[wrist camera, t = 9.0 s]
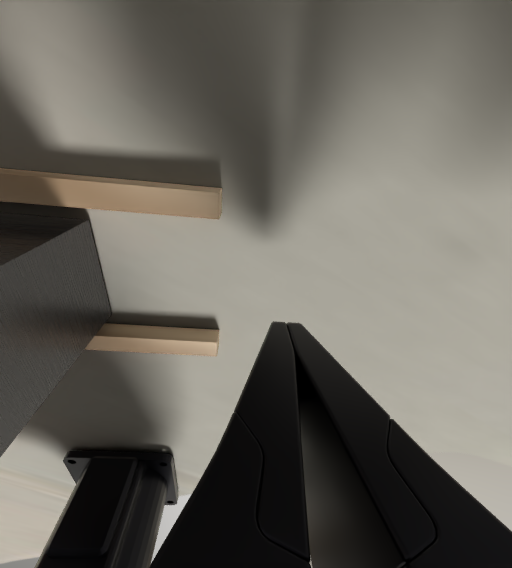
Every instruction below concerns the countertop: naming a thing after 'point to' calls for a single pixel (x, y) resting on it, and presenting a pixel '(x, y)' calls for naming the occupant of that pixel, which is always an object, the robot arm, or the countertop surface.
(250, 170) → the countertop surface
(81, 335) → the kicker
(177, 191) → the track
